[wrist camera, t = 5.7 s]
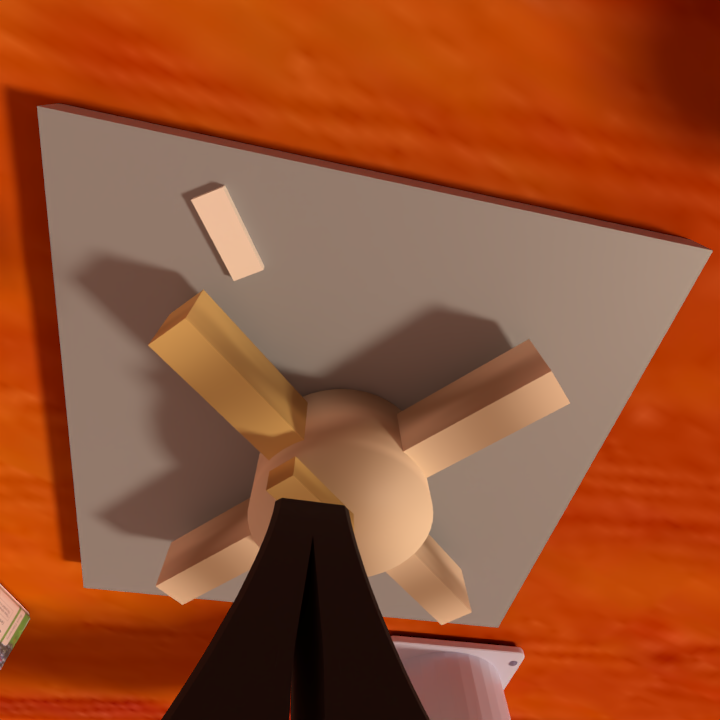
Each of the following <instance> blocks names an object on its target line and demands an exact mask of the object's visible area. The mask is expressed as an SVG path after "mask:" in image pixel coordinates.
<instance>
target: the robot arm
mask: <svg viewBox="0 0 720 720" xmlns="http://www.w3.org/2000/svg"><path fill="white" fill-rule="evenodd" d="M524 657H525V656H524V652H523V650H522V649H521V648H520V647H514V646H503V645H493V644H482V643H471V642H460V641H449V640H438V639H427V638H416V637H405V636H390V634H389V631H388V629H387V626H386V624H385V622H384V619H383V617H382V614H381V611H380V609H379V606H378V603H377V601H376V598H375V596H374V593H373V590H372V588H371V585H370V582H369V579H368V577H367V574H366V571H365V568H364V565H363V561H362V558H361V555H360V552H359V549H358V545H357V542H356V539H355V535H354V531H353V527H352V523H351V519H350V514H349V510H348V509H347V508H346V506H345V505H338V504H330V503H322V502H314V501H305V500H297V499H289V498H280V499H278V500H277V501H275V505H274V509H273V514H272V517H271V520H270V523H269V526H268V529H267V532H266V534H265V537H264V540H263V542H262V544H261V547H260V549H259V551H258V554H257V556H256V558H255V560H254V562H253V564H252V566H251V569H250V571H249V573H248V575H247V577H246V579H245V581H244V583H243V585H242V587H241V589H240V591H239V593H238V595H237V597H236V599H235V600H234V602H233V604H232V606H231V608H230V609H229V611H228V613H227V615H226V616H225V618H224V620H223V622H222V623H221V625H220V627H219V629H218V630H217V632H216V634H215V636H214V637H213V639H212V641H211V643H210V644H209V646H208V648H207V650H206V651H205V653H204V654H203V656H202V658H201V659H200V661H199V663H198V664H197V666H196V667H195V669H194V671H193V672H192V674H191V675H190V677H189V678H188V680H187V682H186V683H185V685H184V686H183V688H182V689H181V691H180V692H179V694H178V695H177V697H176V698H175V700H174V701H173V703H172V705H171V706H170V708H169V709H168V711H167V712H166V714H165V715H164V716H163V718H162V719H161V720H289V711H290V694H291V720H511V718H510V714H509V710H508V707H507V703H506V699H505V695H504V691H503V690H504V689H505V687H506V686H507V684H508V683H509V681H510V679H511V678H512V676H513V675H514V673H515V672H516V670H517V669H518V667H519V665H520V664H521V662H522V661H523V659H524Z"/></svg>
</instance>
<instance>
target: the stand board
mask: <svg viewBox="0 0 720 720" xmlns="http://www.w3.org/2000/svg"><path fill="white" fill-rule="evenodd" d="M37 112H38V122H39V133H40V143H41V153H42V163H43V174H44V184H45V194H46V205H47V215H48V225H49V235H50V246H51V256H52V266H53V276H54V287H55V297H56V307H57V318H58V328H59V338H60V348H61V359H62V369H63V379H64V390H65V400H66V410H67V420H68V431H69V441H70V451H71V461H72V472H73V482H74V492H75V503H76V513H77V523H78V533H79V544H80V554H81V564H82V575H83V585H84V588H93V589H103V590H114V591H124V592H134V593H145V594H155V595H165V596H169V595H167V594H166V593H164V592H163V591H162V590H160V589H159V588H157V587H156V583H157V581H158V578H159V575H160V572H161V569H162V567H163V564H164V561H165V558H166V555H167V553H168V550H169V547H170V544H171V542H173V541H175V540H176V539H178V538H180V537H182V536H183V535H185V534H187V533H189V532H190V531H192V530H194V529H196V528H197V527H199V526H201V525H203V524H204V523H206V522H208V521H210V520H212V519H213V518H215V517H217V516H219V515H220V514H222V513H224V512H226V511H227V510H229V509H231V508H233V507H234V506H236V505H238V504H240V503H241V502H243V501H245V500H247V499H248V498H250V497H251V492H252V487H253V482H254V478H255V473H256V468H257V463H258V459H259V454H260V452H259V451H258V450H257V449H256V448H255V447H254V446H253V445H252V444H251V443H250V442H249V441H248V440H247V439H246V438H245V437H244V436H243V435H242V434H241V433H239V432H238V431H237V430H236V429H235V428H234V427H233V426H232V425H231V424H230V423H229V422H228V421H227V420H226V419H225V418H224V417H223V416H222V415H221V414H220V413H219V412H217V411H216V410H215V409H214V408H213V407H212V406H211V405H210V404H209V403H208V402H207V401H206V400H205V399H204V398H203V397H202V396H201V395H200V394H199V393H198V392H196V391H195V390H194V389H193V388H192V387H191V386H190V385H189V384H188V383H187V382H186V381H185V380H184V379H183V378H182V377H181V376H180V375H179V374H178V373H177V372H176V371H174V370H173V369H172V368H171V367H170V366H169V365H168V364H167V363H166V362H165V361H164V360H163V359H162V358H161V357H160V356H159V355H158V354H157V353H156V352H155V351H153V350H152V349H151V348H150V347H149V346H148V344H149V343H150V342H151V340H152V339H153V337H154V336H155V334H156V333H157V332H158V330H159V329H160V327H161V326H162V324H163V323H164V322H165V320H166V319H167V317H168V316H169V314H171V313H172V312H173V311H175V310H176V309H177V308H179V307H180V306H182V305H183V304H184V303H186V302H187V301H188V300H190V299H191V298H192V297H194V296H195V295H197V294H198V293H199V292H201V291H202V290H203V289H204V291H205V292H206V293H207V294H208V295H209V296H210V297H211V298H212V299H213V300H214V301H215V302H216V304H217V305H218V306H219V307H220V308H221V309H222V310H223V311H224V312H225V313H226V314H227V315H228V317H229V318H230V319H231V320H232V321H233V322H234V323H235V324H236V325H237V326H238V327H239V328H240V330H241V331H242V332H243V333H244V334H245V335H246V336H247V337H248V338H249V339H250V340H251V342H252V343H253V344H254V345H255V346H256V347H257V348H258V349H259V350H260V351H261V352H262V353H263V355H264V356H265V357H266V358H267V359H268V360H269V361H270V362H271V363H272V364H273V365H274V366H275V368H276V369H277V370H278V371H279V372H280V373H281V374H282V375H283V376H284V377H285V378H286V380H287V381H288V382H289V383H290V384H291V385H292V386H293V387H294V388H295V389H296V390H297V391H298V393H299V394H300V395H301V396H302V397H303V396H306V395H308V394H311V393H315V392H319V391H324V390H331V389H351V390H358V391H364V392H368V393H371V394H374V395H377V396H379V397H381V398H383V399H386V400H387V401H389V402H391V403H392V404H394V405H395V406H396V407H398V408H399V409H400V410H401V411H403V410H405V409H407V408H408V407H410V406H412V405H414V404H415V403H417V402H419V401H421V400H422V399H424V398H426V397H428V396H430V395H431V394H433V393H435V392H437V391H438V390H440V389H442V388H444V387H445V386H447V385H449V384H451V383H452V382H454V381H456V380H458V379H459V378H461V377H463V376H465V375H466V374H468V373H470V372H472V371H473V370H475V369H477V368H479V367H480V366H482V365H484V364H486V363H488V362H489V361H491V360H493V359H495V358H496V357H498V356H500V355H502V354H503V353H505V352H507V351H509V350H510V349H512V348H514V347H516V346H517V345H519V344H521V343H523V342H524V341H526V340H528V339H530V341H531V342H532V344H533V345H534V347H535V348H536V349H537V351H538V352H539V354H540V355H541V357H542V358H543V359H544V361H545V362H546V364H547V365H548V367H549V368H550V369H551V371H552V373H553V374H554V376H555V378H556V379H557V381H558V383H559V385H560V386H561V388H562V390H563V391H564V393H565V395H566V396H567V398H568V400H569V402H570V404H568V405H566V406H564V407H562V408H560V409H558V410H556V411H555V412H553V413H551V414H549V415H547V416H545V417H543V418H541V419H539V420H537V421H535V422H533V423H531V424H530V425H528V426H526V427H524V428H522V429H520V430H518V431H516V432H514V433H512V434H510V435H508V436H506V437H505V438H503V439H501V440H499V441H497V442H495V443H493V444H491V445H489V446H487V447H485V448H483V449H481V450H480V451H478V452H476V453H474V454H472V455H470V456H468V457H466V458H464V459H462V460H460V461H458V462H456V463H455V464H453V465H451V466H449V467H447V468H445V469H443V470H441V471H439V472H437V473H435V474H433V475H431V476H429V477H428V478H427V481H428V486H429V491H430V495H431V500H432V505H433V522H432V526H431V529H430V532H429V535H430V536H431V537H432V538H433V539H434V540H435V541H436V542H437V543H438V545H439V546H440V547H441V548H442V549H443V550H444V551H445V552H446V553H447V554H448V555H449V556H450V558H451V559H452V560H453V561H454V562H455V563H456V564H457V565H458V566H459V567H460V568H461V570H462V574H463V578H464V582H465V586H466V590H467V595H468V599H469V603H470V607H471V611H472V612H471V613H469V614H467V615H464V616H462V617H460V618H457V619H455V620H453V621H450V622H448V623H456V624H466V625H476V626H487V627H497V628H498V627H499V625H500V623H501V621H502V620H503V618H504V616H505V614H506V613H507V611H508V609H509V607H510V606H511V604H512V602H513V600H514V599H515V597H516V595H517V593H518V592H519V590H520V588H521V586H522V585H523V583H524V581H525V579H526V577H527V576H528V574H529V572H530V570H531V569H532V567H533V565H534V563H535V562H536V560H537V558H538V556H539V555H540V553H541V551H542V549H543V548H544V546H545V544H546V542H547V541H548V539H549V537H550V535H551V534H552V532H553V530H554V528H555V527H556V525H557V523H558V521H559V520H560V518H561V516H562V514H563V513H564V511H565V509H566V507H567V506H568V504H569V502H570V500H571V499H572V497H573V495H574V493H575V492H576V490H577V488H578V486H579V485H580V483H581V481H582V479H583V478H584V476H585V474H586V472H587V471H588V469H589V467H590V465H591V464H592V462H593V460H594V458H595V457H596V455H597V453H598V451H599V450H600V448H601V446H602V444H603V443H604V441H605V439H606V437H607V436H608V434H609V432H610V430H611V428H612V427H613V425H614V423H615V421H616V420H617V418H618V416H619V414H620V413H621V411H622V409H623V407H624V406H625V404H626V402H627V400H628V399H629V397H630V395H631V393H632V392H633V390H634V388H635V386H636V385H637V383H638V381H639V379H640V378H641V376H642V374H643V372H644V371H645V369H646V367H647V365H648V364H649V362H650V360H651V358H652V357H653V355H654V353H655V351H656V350H657V348H658V346H659V344H660V343H661V341H662V339H663V337H664V336H665V334H666V332H667V330H668V329H669V327H670V325H671V323H672V322H673V320H674V318H675V316H676V315H677V313H678V311H679V309H680V308H681V306H682V304H683V302H684V301H685V299H686V297H687V295H688V294H689V292H690V290H691V288H692V287H693V285H694V283H695V281H696V279H697V278H698V276H699V274H700V272H701V271H702V269H703V267H704V265H705V264H706V262H707V260H708V258H709V257H710V255H711V253H712V251H713V250H711V249H709V248H707V247H705V246H702V245H700V244H698V243H696V242H694V241H692V240H690V239H686V238H681V237H676V236H672V235H667V234H662V233H658V232H653V231H649V230H644V229H639V228H635V227H630V226H625V225H621V224H616V223H612V222H607V221H602V220H598V219H593V218H588V217H584V216H579V215H574V214H570V213H565V212H561V211H556V210H551V209H547V208H542V207H537V206H533V205H528V204H523V203H519V202H514V201H510V200H505V199H500V198H496V197H491V196H486V195H482V194H477V193H473V192H468V191H463V190H459V189H454V188H449V187H445V186H440V185H435V184H431V183H426V182H422V181H417V180H412V179H408V178H403V177H398V176H394V175H389V174H385V173H380V172H375V171H371V170H366V169H361V168H357V167H352V166H347V165H343V164H338V163H334V162H329V161H324V160H320V159H315V158H310V157H306V156H301V155H297V154H292V153H287V152H283V151H278V150H273V149H269V148H264V147H259V146H255V145H250V144H246V143H241V142H236V141H232V140H227V139H222V138H218V137H213V136H209V135H204V134H199V133H195V132H190V131H185V130H181V129H176V128H171V127H167V126H162V125H158V124H153V123H148V122H144V121H139V120H134V119H130V118H125V117H121V116H116V115H111V114H107V113H102V112H97V111H93V110H88V109H83V108H79V107H74V106H70V105H65V104H60V103H57V104H49V105H40V106H37ZM249 571H250V570H249ZM249 571H247V572H245V573H243V574H241V575H239V576H237V577H235V578H233V579H231V580H229V581H227V582H226V583H224V584H222V585H220V586H218V587H216V588H214V589H212V590H210V591H208V592H206V593H204V594H202V595H201V596H199V597H197V598H196V599H207V600H217V601H228V602H234V600H235V599H236V597H237V595H238V593H239V591H240V589H241V587H242V585H243V583H244V581H245V579H246V577H247V575H248V573H249ZM368 579H369V582H370V585H371V588H372V590H373V593H374V596H375V598H376V601H377V603H378V606H379V609H380V611H381V614H382V616H383V617H393V618H404V619H414V620H425V621H435V622H438V621H437V620H436V619H435V618H434V617H432V616H431V615H430V614H429V613H428V612H427V611H426V610H425V609H424V608H423V607H422V606H421V605H420V604H419V603H418V602H417V601H416V600H415V599H414V598H413V597H412V596H410V595H409V594H408V593H407V592H406V591H405V590H404V589H403V588H402V587H401V586H400V585H399V584H398V583H397V582H396V581H395V580H394V579H393V578H392V577H391V576H389V575H388V574H387V573H386V572H383V573H380V574H377V575H374V576H370V577H368Z"/></svg>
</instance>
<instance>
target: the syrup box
mask: <svg viewBox="0 0 720 720" xmlns="http://www.w3.org/2000/svg"><path fill="white" fill-rule="evenodd" d="M29 620H30V616H29V612H28V611H27V610H26V609H25V608H24V607H23V606H22V605H21V604H20V603H19V602H18V601H17V600H16V599H15V598H14V597H13V596H12V595H11V594H10V593H9V592H8V591H7V590H6V589H5V588H4V587H3V586H2V585H1V584H0V670H1V668H2V666H3V665H4V663H5V661H6V659H7V658H8V656H9V654H10V653H11V651H12V649H13V647H14V646H15V644H16V642H17V640H18V639H19V637H20V635H21V634H22V632H23V630H24V629H25V627H26V626H27V624H28V622H29Z"/></svg>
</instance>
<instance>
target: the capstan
mask: <svg viewBox="0 0 720 720" xmlns="http://www.w3.org/2000/svg"><path fill="white" fill-rule="evenodd" d="M148 346H149V347H150V348H151V349H152V350H153V351H155V352H156V353H157V354H158V355H159V356H160V357H161V358H162V359H163V360H164V361H165V362H166V363H167V364H168V365H169V366H170V367H171V368H172V369H173V370H174V371H176V372H177V373H178V374H179V375H180V376H181V377H182V378H183V379H184V380H185V381H186V382H187V383H188V384H189V385H190V386H191V387H192V388H193V389H194V390H195V391H196V392H198V393H199V394H200V395H201V396H202V397H203V398H204V399H205V400H206V401H207V402H208V403H209V404H210V405H211V406H212V407H213V408H214V409H215V410H216V411H217V412H219V413H220V414H221V415H222V416H223V417H224V418H225V419H226V420H227V421H228V422H229V423H230V424H231V425H232V426H233V427H234V428H235V429H236V430H237V431H238V432H239V433H241V434H242V435H243V436H244V437H245V438H246V439H247V440H248V441H249V442H250V443H251V444H252V445H253V446H254V447H255V448H256V449H257V450H258V451H259V452H260V454H259V459H258V463H257V468H256V473H255V478H254V482H253V487H252V492H251V497H250V498H248V499H247V500H245V501H243V502H241V503H240V504H238V505H236V506H234V507H233V508H231V509H229V510H227V511H226V512H224V513H222V514H220V515H219V516H217V517H215V518H213V519H212V520H210V521H208V522H206V523H204V524H203V525H201V526H199V527H197V528H196V529H194V530H192V531H190V532H189V533H187V534H185V535H183V536H182V537H180V538H178V539H176V540H175V541H173V542H171V544H170V547H169V550H168V553H167V555H166V558H165V561H164V564H163V567H162V569H161V572H160V575H159V578H158V581H157V583H156V587H157V588H159V589H160V590H162V591H163V592H164V593H166V594H167V595H169V596H170V597H172V598H173V599H175V600H176V601H178V602H179V603H181V604H182V605H183V604H185V603H187V602H189V601H191V600H193V599H195V598H197V597H199V596H201V595H202V594H204V593H206V592H208V591H210V590H212V589H214V588H216V587H218V586H220V585H222V584H224V583H226V582H227V581H229V580H231V579H233V578H235V577H237V576H239V575H241V574H243V573H245V572H247V571H249V570H250V569H251V566H252V564H253V562H254V560H255V558H256V556H257V554H258V551H259V549H260V547H261V544H262V542H263V540H264V537H265V534H266V532H267V529H268V526H269V523H270V520H271V517H272V514H273V509H274V505H275V501H277V500H278V499H280V498H289V499H297V500H305V501H314V502H322V503H330V504H338V505H345V506H346V508H347V509H348V510H349V514H350V519H351V523H352V527H353V531H354V535H355V539H356V542H357V545H358V549H359V552H360V555H361V558H362V561H363V565H364V568H365V571H366V574H367V577H370V576H374V575H377V574H380V573H383V572H386V573H387V574H388V575H389V576H391V577H392V578H393V579H394V580H395V581H396V582H397V583H398V584H399V585H400V586H401V587H402V588H403V589H404V590H405V591H406V592H407V593H408V594H409V595H410V596H412V597H413V598H414V599H415V600H416V601H417V602H418V603H419V604H420V605H421V606H422V607H423V608H424V609H425V610H426V611H427V612H428V613H429V614H430V615H431V616H432V617H434V618H435V619H436V620H437V621H438V622H439V623H440V624H441V625H443V624H446V623H448V622H450V621H453V620H455V619H457V618H460V617H462V616H464V615H467V614H469V613H471V612H472V611H471V607H470V603H469V599H468V595H467V590H466V586H465V582H464V578H463V574H462V570H461V568H460V567H459V566H458V565H457V564H456V563H455V562H454V561H453V560H452V559H451V558H450V556H449V555H448V554H447V553H446V552H445V551H444V550H443V549H442V548H441V547H440V546H439V545H438V543H437V542H436V541H435V540H434V539H433V538H432V537H431V536H430V535H429V532H430V529H431V526H432V522H433V505H432V500H431V495H430V491H429V486H428V481H427V478H428V477H429V476H431V475H433V474H435V473H437V472H439V471H441V470H443V469H445V468H447V467H449V466H451V465H453V464H455V463H456V462H458V461H460V460H462V459H464V458H466V457H468V456H470V455H472V454H474V453H476V452H478V451H480V450H481V449H483V448H485V447H487V446H489V445H491V444H493V443H495V442H497V441H499V440H501V439H503V438H505V437H506V436H508V435H510V434H512V433H514V432H516V431H518V430H520V429H522V428H524V427H526V426H528V425H530V424H531V423H533V422H535V421H537V420H539V419H541V418H543V417H545V416H547V415H549V414H551V413H553V412H555V411H556V410H558V409H560V408H562V407H564V406H566V405H568V404H570V402H569V400H568V398H567V396H566V395H565V393H564V391H563V390H562V388H561V386H560V385H559V383H558V381H557V379H556V378H555V376H554V374H553V373H552V371H551V369H550V368H549V367H548V365H547V364H546V362H545V361H544V359H543V358H542V357H541V355H540V354H539V352H538V351H537V349H536V348H535V347H534V345H533V344H532V342H531V341H530V339H528V340H526V341H524V342H523V343H521V344H519V345H517V346H516V347H514V348H512V349H510V350H509V351H507V352H505V353H503V354H502V355H500V356H498V357H496V358H495V359H493V360H491V361H489V362H488V363H486V364H484V365H482V366H480V367H479V368H477V369H475V370H473V371H472V372H470V373H468V374H466V375H465V376H463V377H461V378H459V379H458V380H456V381H454V382H452V383H451V384H449V385H447V386H445V387H444V388H442V389H440V390H438V391H437V392H435V393H433V394H431V395H430V396H428V397H426V398H424V399H422V400H421V401H419V402H417V403H415V404H414V405H412V406H410V407H408V408H407V409H405V410H403V411H401V410H400V409H399V408H398V407H396V406H395V405H394V404H392V403H391V402H389V401H387V400H386V399H383V398H381V397H379V396H377V395H374V394H371V393H368V392H364V391H358V390H351V389H331V390H324V391H319V392H315V393H311V394H308V395H306V396H303V397H302V396H301V395H300V394H299V393H298V391H297V390H296V389H295V388H294V387H293V386H292V385H291V384H290V383H289V382H288V381H287V380H286V378H285V377H284V376H283V375H282V374H281V373H280V372H279V371H278V370H277V369H276V368H275V366H274V365H273V364H272V363H271V362H270V361H269V360H268V359H267V358H266V357H265V356H264V355H263V353H262V352H261V351H260V350H259V349H258V348H257V347H256V346H255V345H254V344H253V343H252V342H251V340H250V339H249V338H248V337H247V336H246V335H245V334H244V333H243V332H242V331H241V330H240V328H239V327H238V326H237V325H236V324H235V323H234V322H233V321H232V320H231V319H230V318H229V317H228V315H227V314H226V313H225V312H224V311H223V310H222V309H221V308H220V307H219V306H218V305H217V304H216V302H215V301H214V300H213V299H212V298H211V297H210V296H209V295H208V294H207V293H206V292H205V291H204V289H203V290H202V291H201V292H199V293H198V294H197V295H195V296H194V297H192V298H191V299H190V300H188V301H187V302H186V303H184V304H183V305H182V306H180V307H179V308H177V309H176V310H175V311H173V312H172V313H171V314H169V316H168V317H167V319H166V320H165V322H164V323H163V324H162V326H161V327H160V329H159V330H158V332H157V333H156V334H155V336H154V337H153V339H152V340H151V342H150V343H149V344H148Z"/></svg>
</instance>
